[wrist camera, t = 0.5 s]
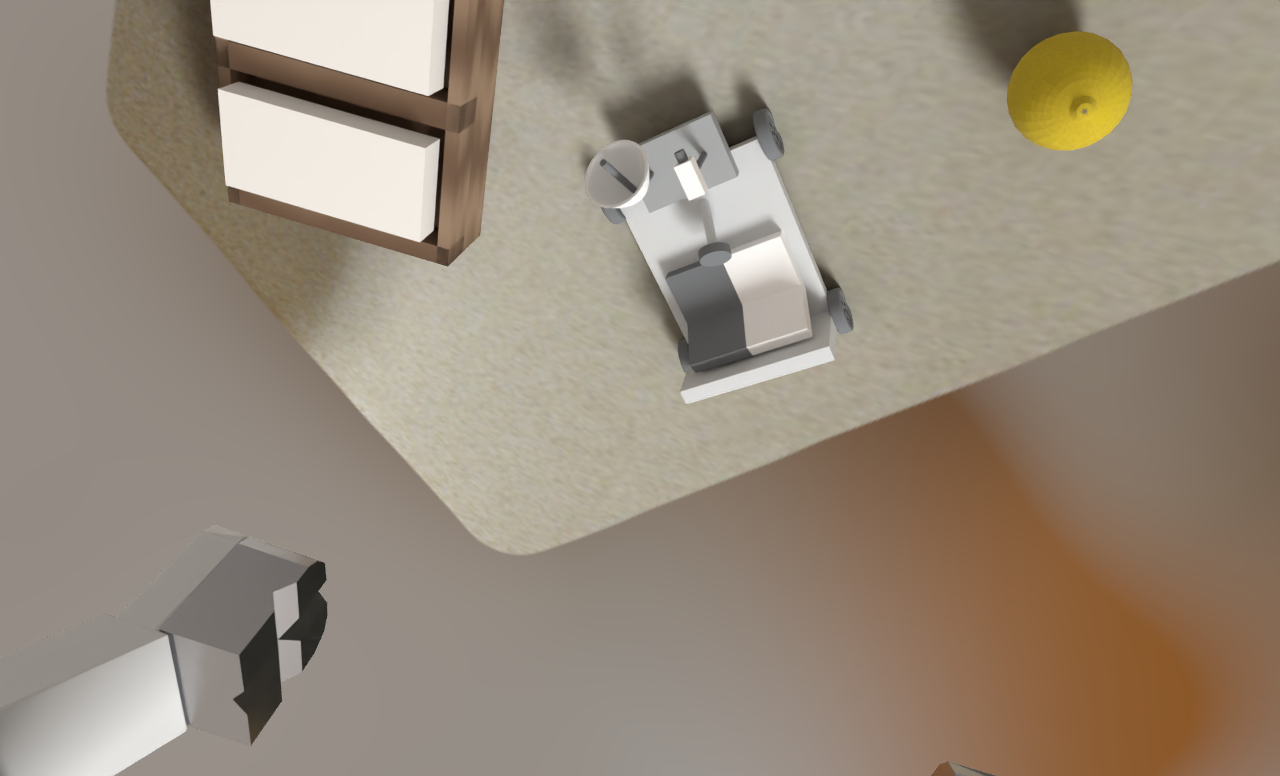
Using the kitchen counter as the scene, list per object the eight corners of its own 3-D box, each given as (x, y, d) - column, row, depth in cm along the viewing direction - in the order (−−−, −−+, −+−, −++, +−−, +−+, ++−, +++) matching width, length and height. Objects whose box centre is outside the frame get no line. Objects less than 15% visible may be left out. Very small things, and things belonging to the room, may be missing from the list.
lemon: (975, 82, 46) (994, 118, 40) (1060, -3, 43) (1097, 20, 37) (1044, 147, 47) (1074, 192, 41) (1132, 68, 44) (1180, 103, 38)
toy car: (534, 185, 45) (729, 97, 40) (584, 137, 53) (751, 59, 49) (673, 444, 52) (852, 394, 48) (699, 366, 60) (854, 317, 56)
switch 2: (238, 81, 50) (217, 88, 49) (439, 138, 49) (425, 148, 48) (245, 175, 54) (225, 185, 52) (433, 230, 53) (419, 242, 51)
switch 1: (227, -86, 45) (203, -84, 44) (450, -25, 44) (435, -21, 43) (235, 29, 49) (213, 35, 47) (443, 88, 48) (428, 96, 46)
